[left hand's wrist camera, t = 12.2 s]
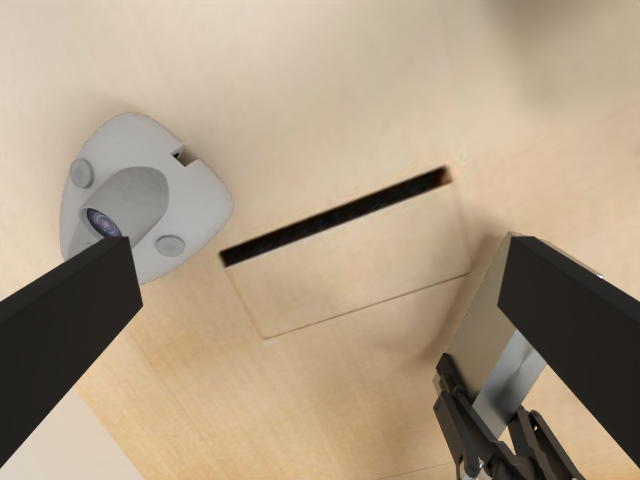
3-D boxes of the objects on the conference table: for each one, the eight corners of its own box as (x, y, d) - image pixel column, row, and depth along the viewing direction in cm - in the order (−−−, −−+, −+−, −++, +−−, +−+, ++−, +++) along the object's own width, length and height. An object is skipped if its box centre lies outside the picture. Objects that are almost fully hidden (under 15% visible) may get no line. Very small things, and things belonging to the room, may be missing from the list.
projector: (35, 117, 41) (-105, 123, 28) (228, 108, 41) (183, 109, 27) (88, 283, 49) (-1, 352, 36) (250, 277, 49) (223, 344, 35)
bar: (508, 230, 42) (554, 262, 34) (548, 241, 42) (604, 276, 34) (432, 380, 51) (454, 436, 42) (466, 388, 51) (494, 444, 43)
